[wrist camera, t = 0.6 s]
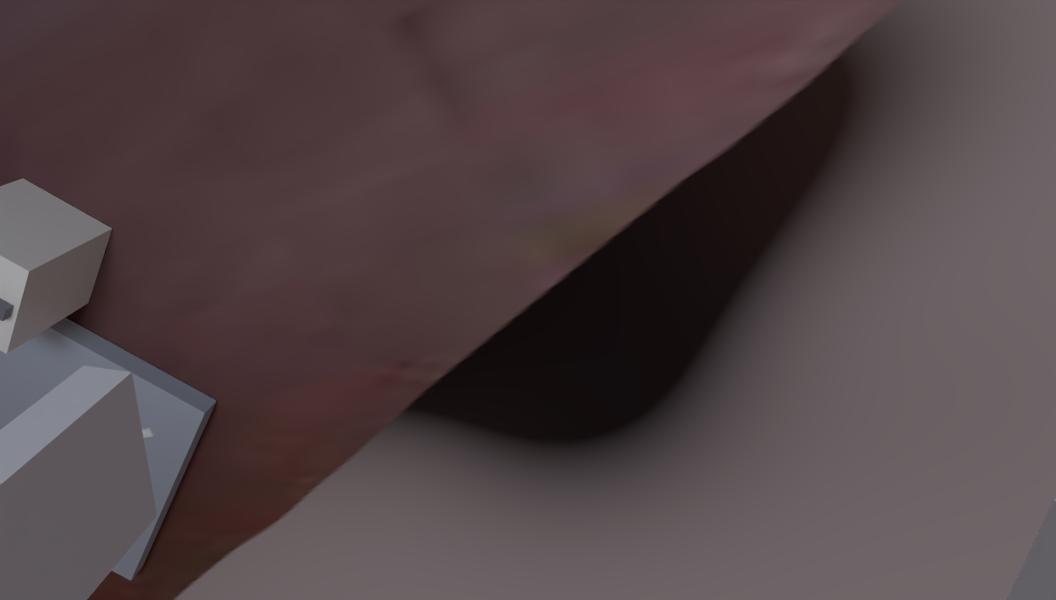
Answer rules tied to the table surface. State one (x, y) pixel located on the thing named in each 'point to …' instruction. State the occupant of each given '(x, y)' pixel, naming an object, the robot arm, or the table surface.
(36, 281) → the white box
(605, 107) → the table surface
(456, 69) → the table surface
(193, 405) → the plate
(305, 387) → the table surface
